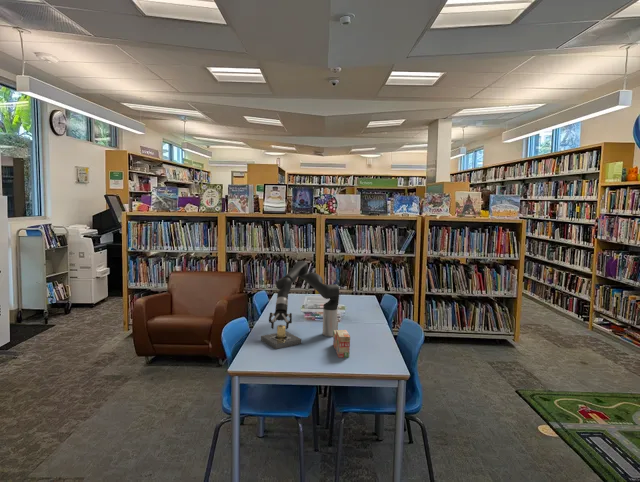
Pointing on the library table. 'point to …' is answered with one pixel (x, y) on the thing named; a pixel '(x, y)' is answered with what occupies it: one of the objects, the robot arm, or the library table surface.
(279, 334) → the brass sleeve
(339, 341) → the stack of blocks
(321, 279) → the robot arm
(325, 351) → the library table surface
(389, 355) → the library table surface
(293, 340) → the plate
